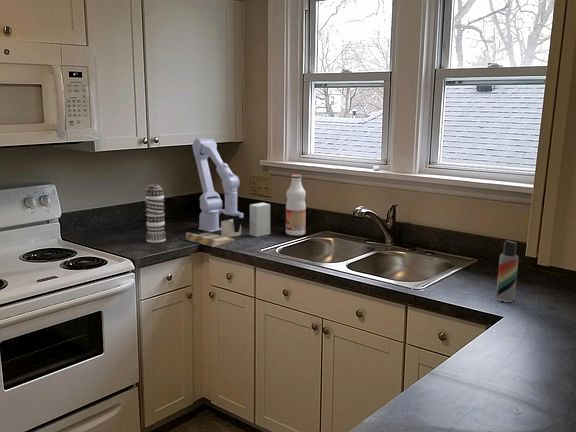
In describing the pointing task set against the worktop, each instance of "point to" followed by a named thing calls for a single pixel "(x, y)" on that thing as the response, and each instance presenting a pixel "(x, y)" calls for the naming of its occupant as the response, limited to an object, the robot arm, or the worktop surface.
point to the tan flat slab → (209, 239)
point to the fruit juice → (296, 207)
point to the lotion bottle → (507, 272)
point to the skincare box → (259, 219)
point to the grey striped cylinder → (155, 213)
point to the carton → (229, 229)
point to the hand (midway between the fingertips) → (231, 230)
